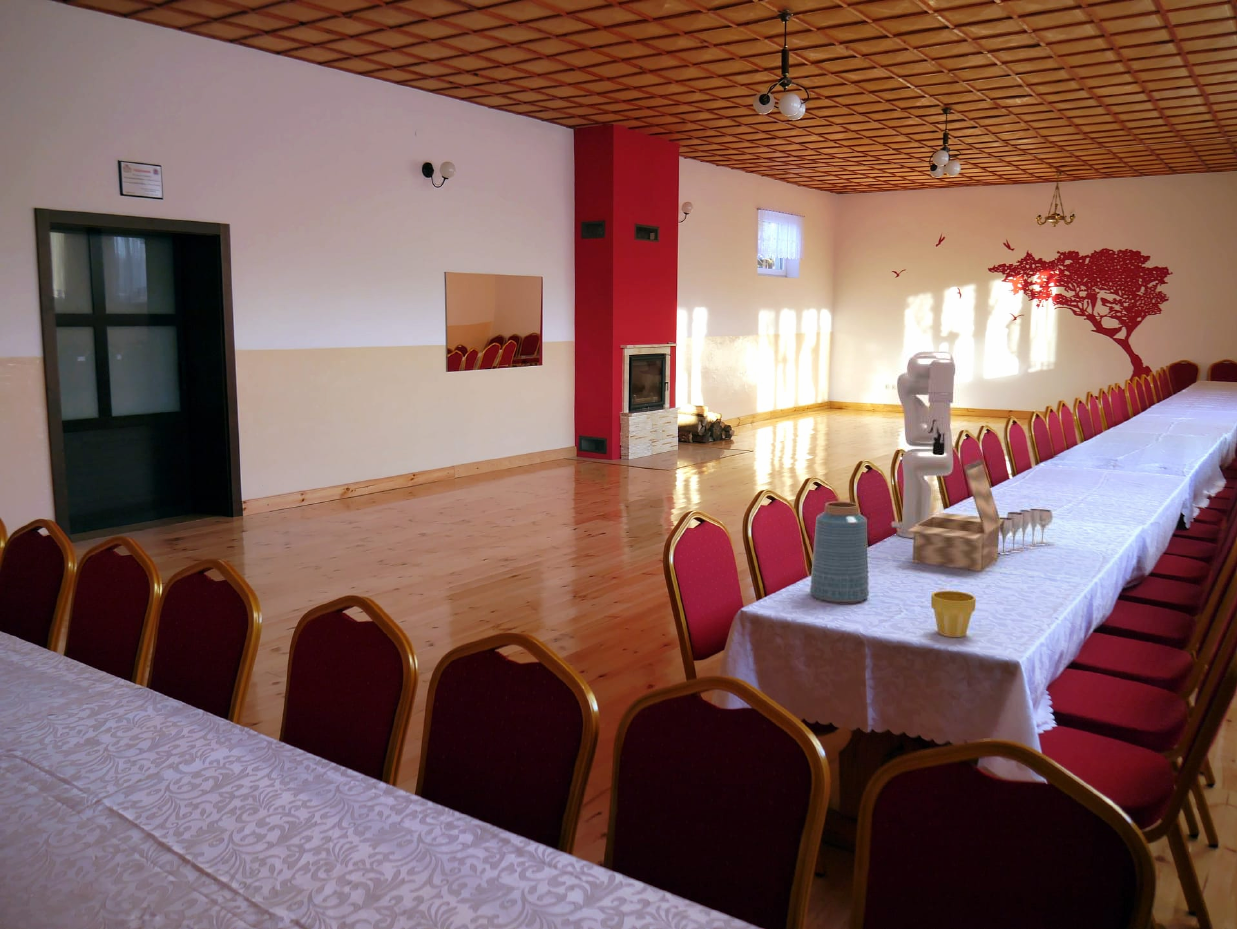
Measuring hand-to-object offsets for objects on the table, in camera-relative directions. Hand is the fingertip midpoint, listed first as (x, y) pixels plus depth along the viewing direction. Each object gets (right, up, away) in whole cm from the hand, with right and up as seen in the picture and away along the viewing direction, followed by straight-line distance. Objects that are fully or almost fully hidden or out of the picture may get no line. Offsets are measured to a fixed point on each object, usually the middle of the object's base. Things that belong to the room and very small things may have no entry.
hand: (938, 454), depth 313 cm
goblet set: (+35, -32, +18) cm, 51 cm away
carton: (+6, -35, +2) cm, 35 cm away
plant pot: (-20, -46, -71) cm, 87 cm away
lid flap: (+12, -13, -6) cm, 19 cm away
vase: (-41, -41, -38) cm, 69 cm away
